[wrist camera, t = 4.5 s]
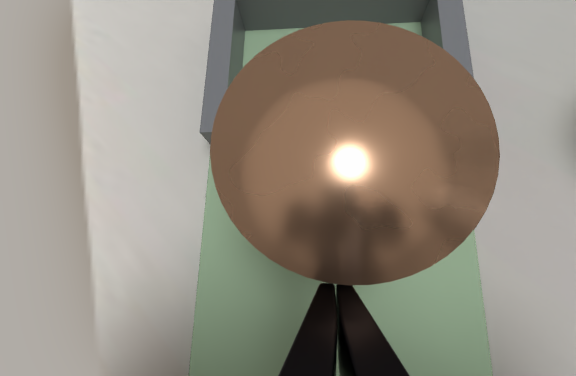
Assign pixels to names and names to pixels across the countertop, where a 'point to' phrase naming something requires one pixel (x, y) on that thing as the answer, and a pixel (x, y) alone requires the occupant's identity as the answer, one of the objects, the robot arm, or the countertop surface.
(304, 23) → the shallow gray tray
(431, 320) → the green
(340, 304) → the robot arm
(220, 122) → the copper metal cylinder
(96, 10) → the countertop surface
